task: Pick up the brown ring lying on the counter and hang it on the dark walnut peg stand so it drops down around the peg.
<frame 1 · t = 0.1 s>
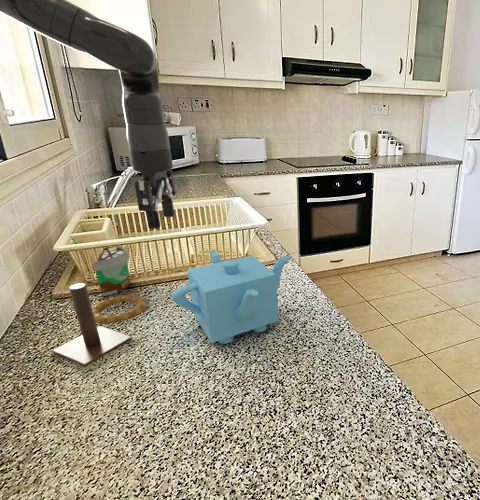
hand: (162, 222, 82), 19 cm above the countertop, tool pointing down, fingers open, 8 cm apart
food container: (121, 289, 93), on the countertop
peg stand: (94, 350, 70), on the countertop
teakettle: (241, 324, 80), on the countertop
ring: (118, 309, 82), point 1 cm above the countertop
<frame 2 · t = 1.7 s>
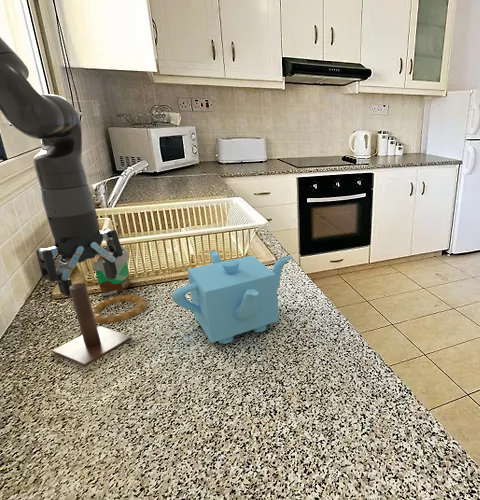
hand: (91, 286, 76), 9 cm above the countertop, tool pointing down, fingers open, 8 cm apart
nothing on the countertop moved.
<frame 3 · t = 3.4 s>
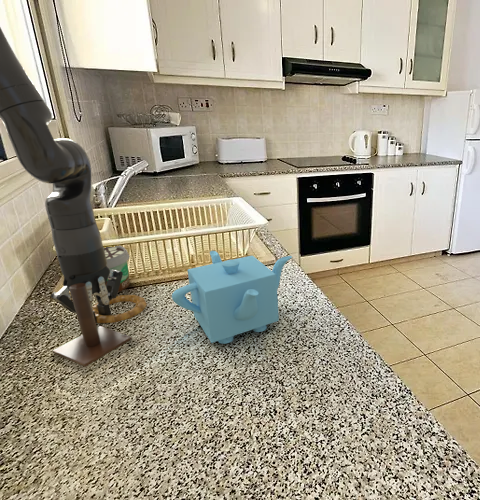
hand: (99, 322, 79), 0 cm above the countertop, tool pointing down, fingers closed on ring, 2 cm apart
ring: (118, 309, 82), point 1 cm above the countertop, touching gripper
everything else where it was.
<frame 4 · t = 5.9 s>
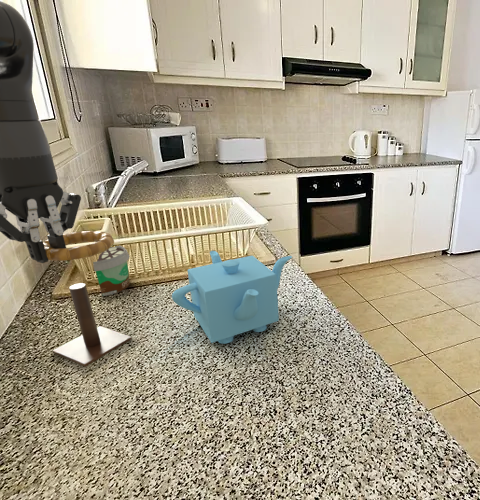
hand: (50, 258, 62), 19 cm above the countertop, tool pointing down, fingers closed on ring
ring: (76, 244, 66), point 20 cm above the countertop, touching gripper
everything else where it was.
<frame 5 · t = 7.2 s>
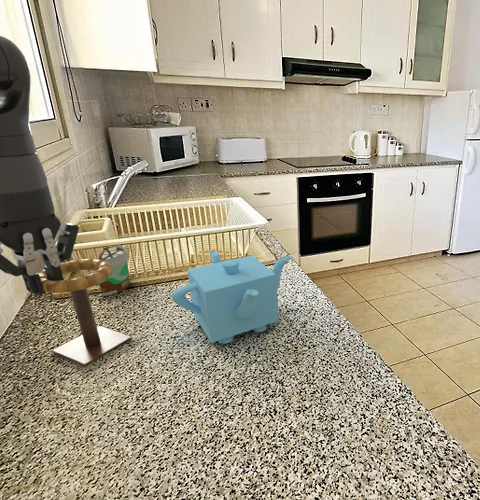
hand: (47, 290, 61), 15 cm above the countertop, tool pointing down, fingers closed on ring
ring: (74, 274, 65), point 16 cm above the countertop, touching gripper
everything else where it was.
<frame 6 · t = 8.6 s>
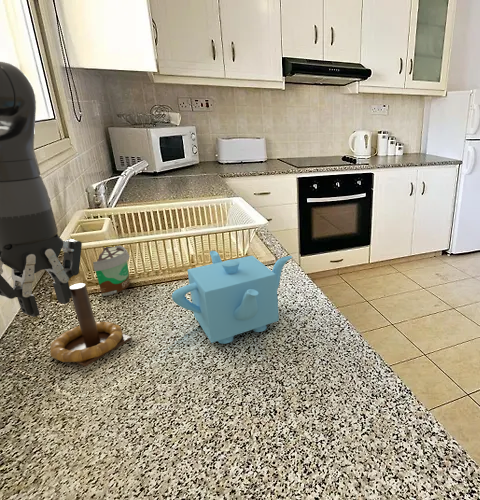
hand: (49, 308, 62), 12 cm above the countertop, tool pointing down, fingers open, 4 cm apart
ring: (87, 340, 69), point 2 cm above the countertop, touching peg stand
everything else where it was.
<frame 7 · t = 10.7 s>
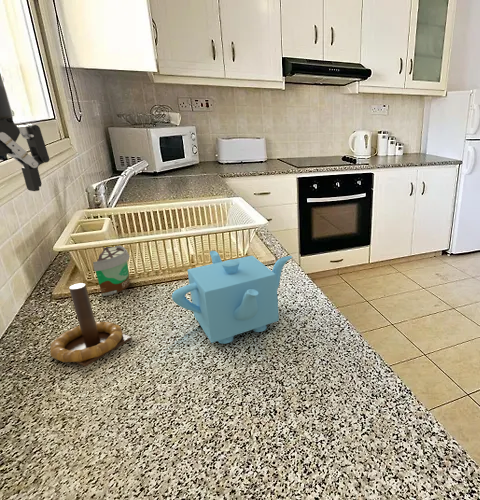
hand: (2, 195, 58), 30 cm above the countertop, tool pointing down, fingers open, 8 cm apart
nothing on the countertop moved.
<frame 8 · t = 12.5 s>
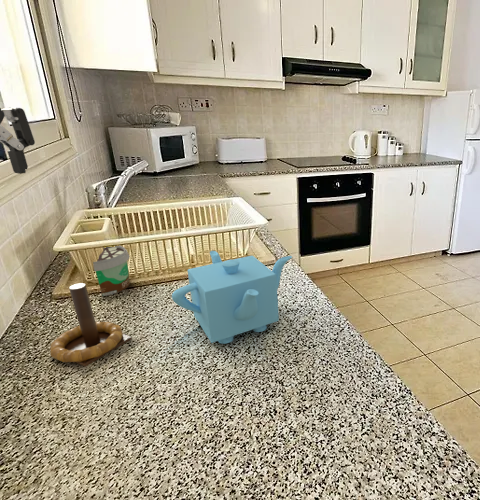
nothing on the countertop moved.
at the end: ring 0.6 cm off-centre on the peg stand, point 2.5 cm above the peg stand's base; the gripper is holding nothing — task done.
